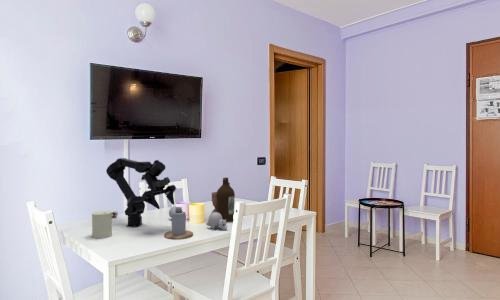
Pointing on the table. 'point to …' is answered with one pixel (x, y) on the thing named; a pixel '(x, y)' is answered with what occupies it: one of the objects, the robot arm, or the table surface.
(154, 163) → the robot arm
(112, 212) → the grandmother figurine
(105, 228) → the can
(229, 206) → the olive oil
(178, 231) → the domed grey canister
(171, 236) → the cheese board
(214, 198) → the mortar and pestle
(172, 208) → the ceramic mug
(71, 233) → the table surface
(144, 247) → the table surface
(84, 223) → the table surface
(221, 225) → the chubby cartoon animal
